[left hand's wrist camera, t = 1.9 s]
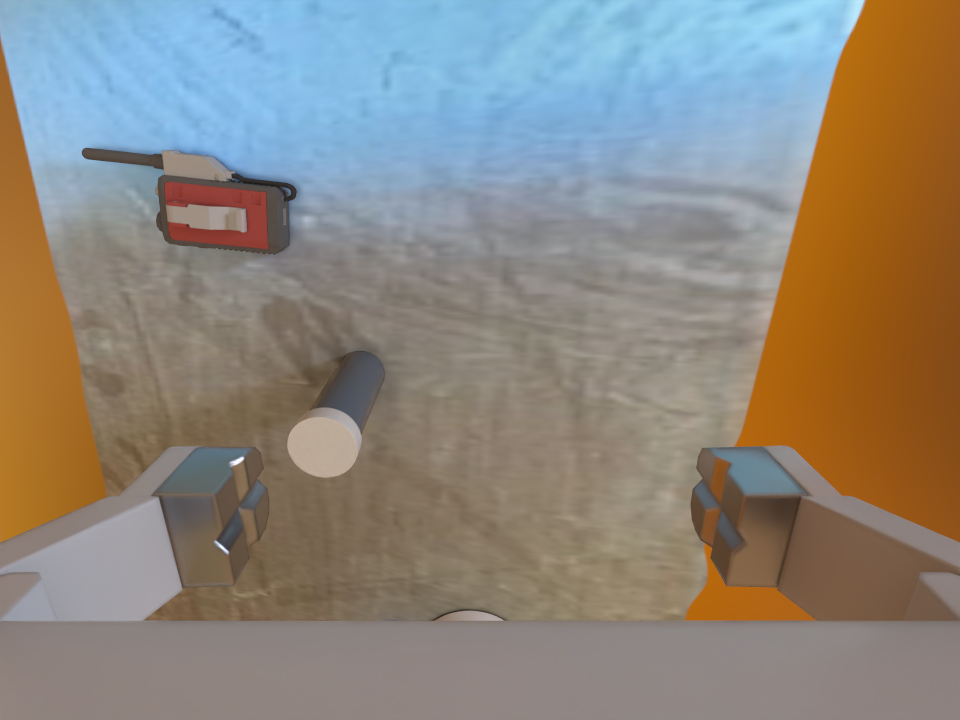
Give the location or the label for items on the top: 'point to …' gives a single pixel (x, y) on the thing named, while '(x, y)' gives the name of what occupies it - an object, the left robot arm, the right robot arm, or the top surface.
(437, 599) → the top surface
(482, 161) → the top surface
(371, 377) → the dark grey cylinder
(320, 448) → the lid
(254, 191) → the walkie-talkie
